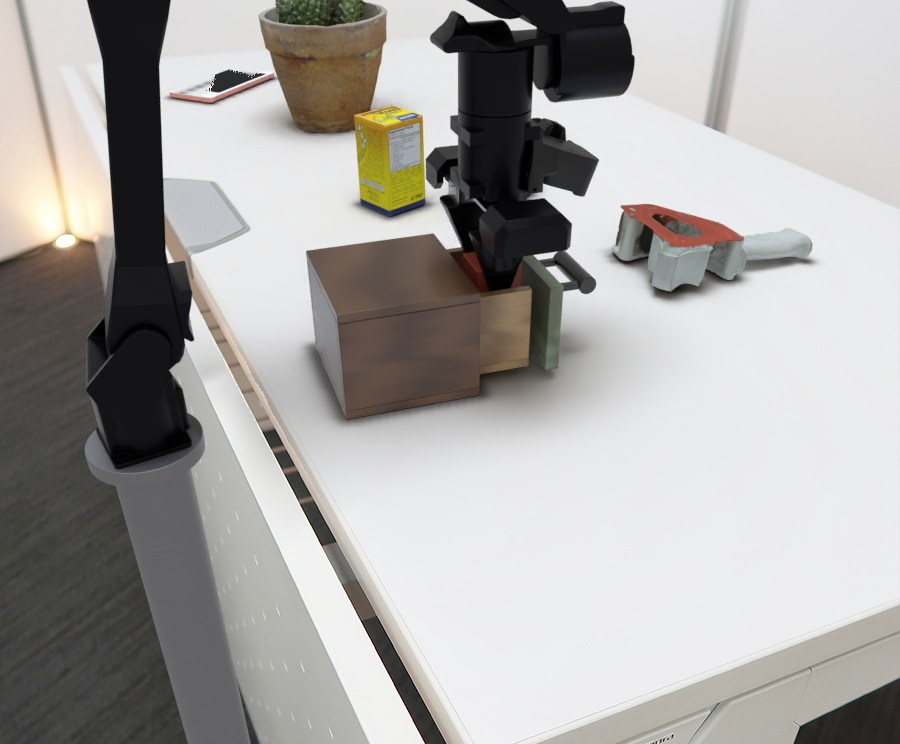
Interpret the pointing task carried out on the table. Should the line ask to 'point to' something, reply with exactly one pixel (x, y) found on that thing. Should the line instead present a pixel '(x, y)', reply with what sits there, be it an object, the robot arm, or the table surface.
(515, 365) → the drawer
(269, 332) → the table surface
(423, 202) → the supplement box
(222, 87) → the cell phone
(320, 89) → the potted plant
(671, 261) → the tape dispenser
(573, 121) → the table surface
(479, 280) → the block
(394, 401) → the cabinet
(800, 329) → the table surface
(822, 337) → the table surface
